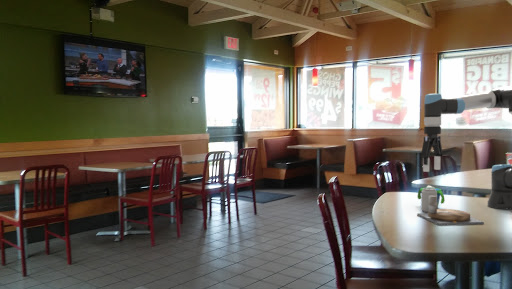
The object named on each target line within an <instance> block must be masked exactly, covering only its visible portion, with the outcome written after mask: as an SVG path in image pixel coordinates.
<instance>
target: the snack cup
mask: <svg viewBox="0 0 512 289" xmlns="http://www.w3.org/2000/svg"><path fill="white" fill-rule="evenodd" d="M423 188H424V187H421V188H420V189H419V190H418V191H417V200H421V196H422V190H423ZM425 188H428V187H427V186H426V187H425ZM434 189H436V191H437V208H439V204H444V203H445V202H446V200H445V195H444V193H443V191H442V189H441V188H437V187H435V188H434ZM440 198H441V200H440Z"/></svg>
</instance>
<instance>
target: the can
mask: <svg viewBox="0 0 512 289" xmlns="http://www.w3.org/2000/svg"><path fill="white" fill-rule="evenodd" d="M422 188H423V190H422V195H421V199H420V200H421V203H420V204H421V205H420V206H421V211H422V213H423V212H424V213H428V211H429V196H437V191H436V189H434V188H426V187H422Z"/></svg>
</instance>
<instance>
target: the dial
mask: <svg viewBox="0 0 512 289" xmlns="http://www.w3.org/2000/svg"><path fill="white" fill-rule="evenodd" d="M427 213H428V216H429V217H431V218H434V219H438V220H445V221H467V220H470V217H471V213H469V212H468V211H464V210H459V209H452V208H438V207H437V196H429V211H428V212H427Z"/></svg>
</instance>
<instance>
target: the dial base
mask: <svg viewBox="0 0 512 289" xmlns="http://www.w3.org/2000/svg"><path fill="white" fill-rule="evenodd" d="M416 215H417V217H420V218H422V219H424V220H425V221H429V222H431V223H433V224H435V225H437V226H459V225H460V226H464V225H467V226H468V225H485V222H484V221H483V220H482V221H481V220H480V219H477V218H474V217H472V216H470V220H467V221H445V220H438V219H434V218H431V217H429V216H428V212H424V213H423V212H422V213H416Z"/></svg>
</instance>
